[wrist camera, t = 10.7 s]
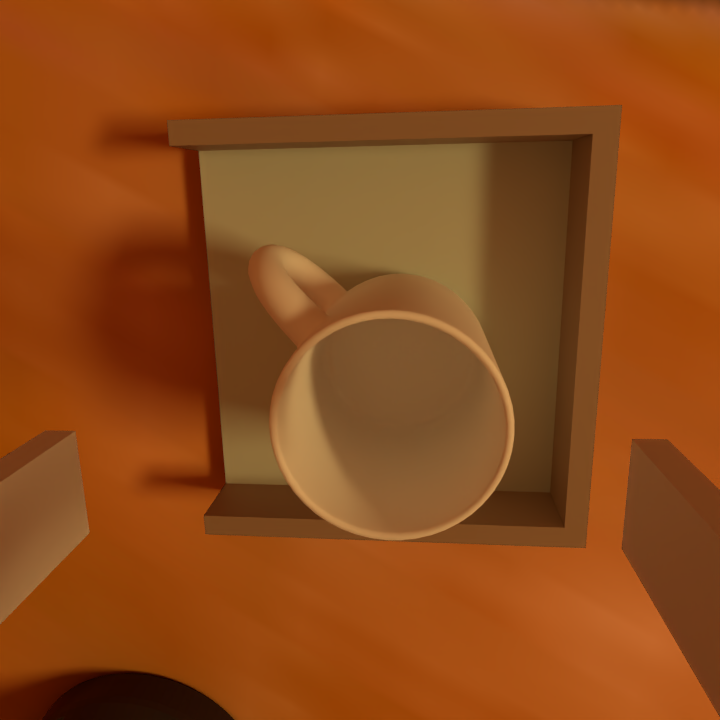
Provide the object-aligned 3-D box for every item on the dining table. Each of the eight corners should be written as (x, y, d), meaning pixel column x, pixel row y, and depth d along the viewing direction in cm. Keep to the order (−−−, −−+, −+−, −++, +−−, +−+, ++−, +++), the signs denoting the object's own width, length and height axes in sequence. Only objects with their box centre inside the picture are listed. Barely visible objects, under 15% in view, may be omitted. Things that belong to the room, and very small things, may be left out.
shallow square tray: (232, 491, 35) (205, 534, 31) (204, 130, 30) (166, 120, 26) (564, 501, 33) (585, 548, 29) (592, 118, 28) (621, 105, 24)
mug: (229, 296, 31) (139, 346, 21) (348, 174, 29) (309, 166, 19) (396, 464, 33) (385, 583, 23) (521, 359, 30) (568, 440, 21)
